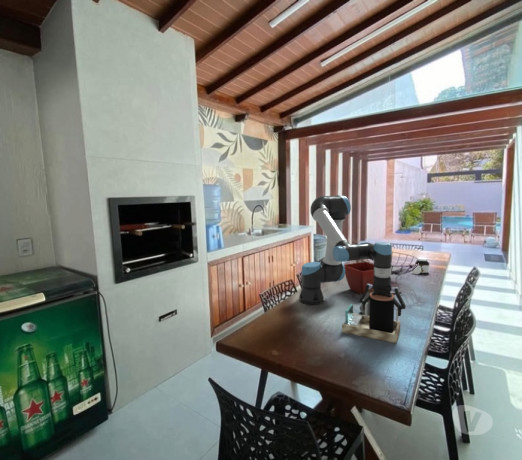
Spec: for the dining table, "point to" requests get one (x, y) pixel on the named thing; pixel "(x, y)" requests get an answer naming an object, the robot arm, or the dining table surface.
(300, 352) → the dining table surface
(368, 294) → the coffee pot
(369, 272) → the plant pot
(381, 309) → the coffee jar
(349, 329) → the channel
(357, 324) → the teal piece
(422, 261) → the spread jar
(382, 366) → the dining table surface
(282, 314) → the dining table surface
